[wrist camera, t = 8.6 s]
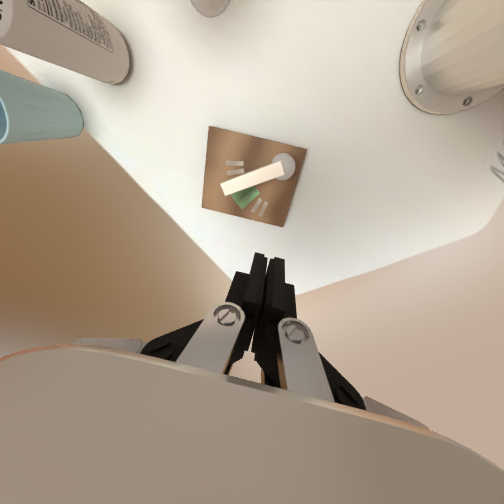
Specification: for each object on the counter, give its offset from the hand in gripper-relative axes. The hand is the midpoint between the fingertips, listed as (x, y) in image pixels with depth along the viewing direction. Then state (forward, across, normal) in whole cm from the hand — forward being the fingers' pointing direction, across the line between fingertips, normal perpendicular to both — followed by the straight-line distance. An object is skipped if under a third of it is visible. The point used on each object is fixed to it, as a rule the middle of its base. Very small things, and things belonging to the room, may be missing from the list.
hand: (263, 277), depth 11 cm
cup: (+22, +32, -4) cm, 40 cm away
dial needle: (+20, +3, -3) cm, 21 cm away
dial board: (+22, +4, -1) cm, 23 cm away
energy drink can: (+22, +24, -12) cm, 35 cm away
